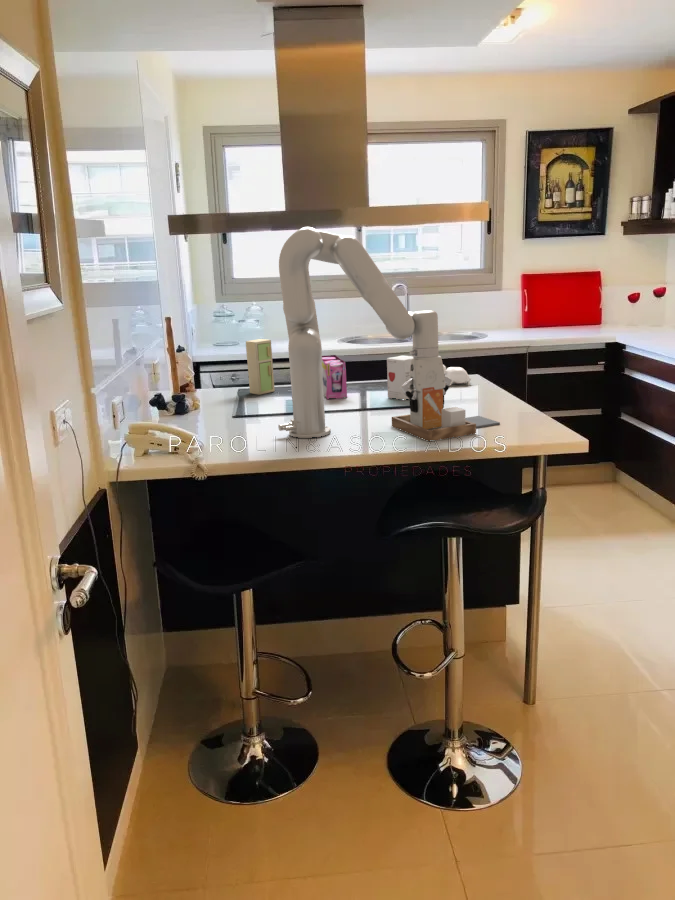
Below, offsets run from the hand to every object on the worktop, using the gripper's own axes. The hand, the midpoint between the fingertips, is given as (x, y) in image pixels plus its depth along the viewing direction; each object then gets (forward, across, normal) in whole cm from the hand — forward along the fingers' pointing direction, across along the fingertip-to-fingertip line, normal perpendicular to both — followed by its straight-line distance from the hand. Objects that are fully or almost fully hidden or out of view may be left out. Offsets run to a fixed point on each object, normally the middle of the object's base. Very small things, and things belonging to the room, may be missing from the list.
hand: (427, 409), depth 213 cm
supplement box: (+6, +16, +44) cm, 48 cm away
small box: (+6, 0, 0) cm, 6 cm away
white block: (+6, +3, -10) cm, 12 cm away
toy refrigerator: (+5, -24, +87) cm, 91 cm away
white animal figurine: (+6, +45, +56) cm, 72 cm away
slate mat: (+6, +14, -4) cm, 16 cm away
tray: (+6, -1, -4) cm, 7 cm away
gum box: (+5, -2, +68) cm, 69 cm away
